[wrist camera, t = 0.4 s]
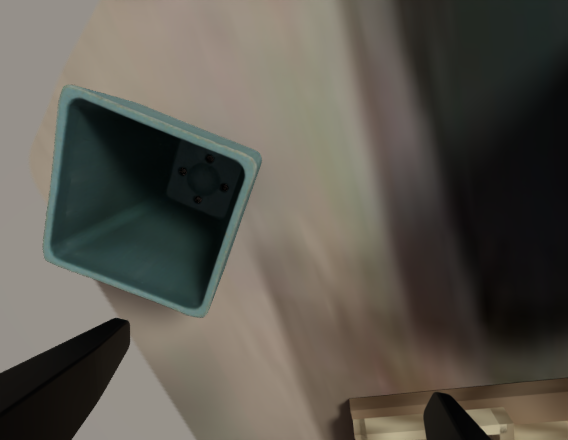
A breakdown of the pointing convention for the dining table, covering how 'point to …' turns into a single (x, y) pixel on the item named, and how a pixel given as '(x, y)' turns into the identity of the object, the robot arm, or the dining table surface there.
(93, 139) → the flower pot
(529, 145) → the dining table surface
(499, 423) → the keyhole guide
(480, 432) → the robot arm
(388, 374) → the dining table surface
